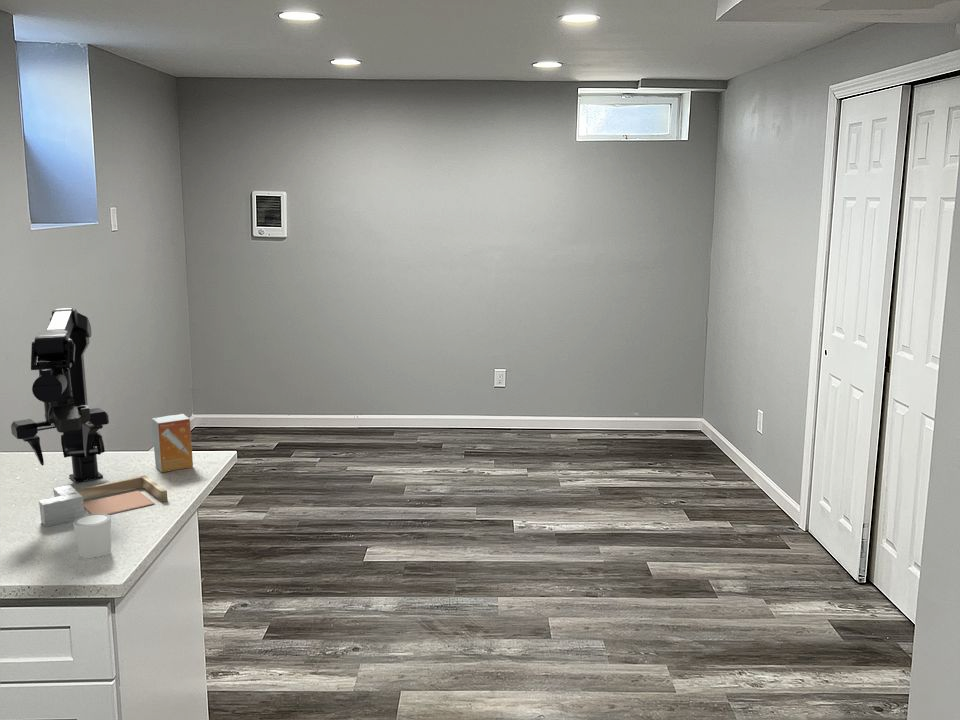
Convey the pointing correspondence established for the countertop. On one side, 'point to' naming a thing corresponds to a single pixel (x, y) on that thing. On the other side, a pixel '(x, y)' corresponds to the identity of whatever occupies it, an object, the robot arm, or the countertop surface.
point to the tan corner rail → (124, 488)
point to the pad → (117, 503)
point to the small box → (172, 442)
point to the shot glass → (93, 535)
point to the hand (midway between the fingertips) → (64, 460)
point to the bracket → (61, 506)
